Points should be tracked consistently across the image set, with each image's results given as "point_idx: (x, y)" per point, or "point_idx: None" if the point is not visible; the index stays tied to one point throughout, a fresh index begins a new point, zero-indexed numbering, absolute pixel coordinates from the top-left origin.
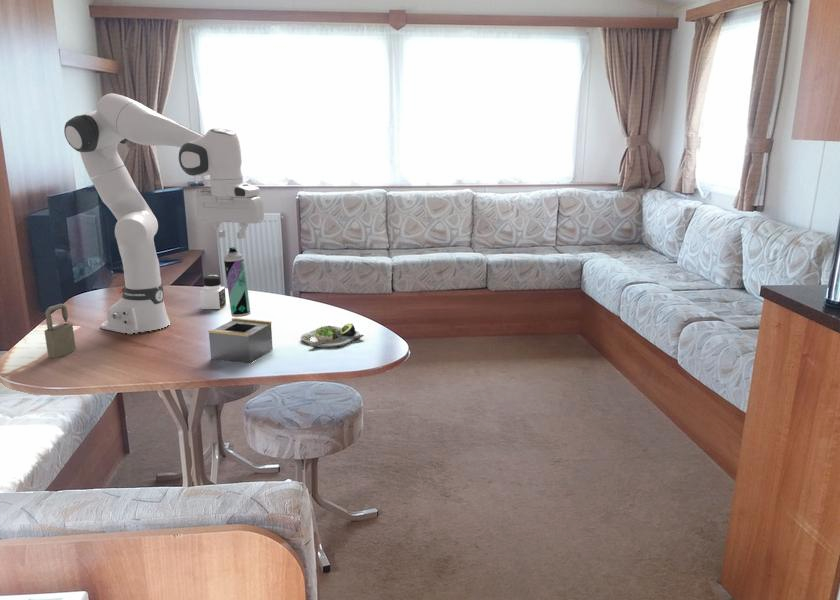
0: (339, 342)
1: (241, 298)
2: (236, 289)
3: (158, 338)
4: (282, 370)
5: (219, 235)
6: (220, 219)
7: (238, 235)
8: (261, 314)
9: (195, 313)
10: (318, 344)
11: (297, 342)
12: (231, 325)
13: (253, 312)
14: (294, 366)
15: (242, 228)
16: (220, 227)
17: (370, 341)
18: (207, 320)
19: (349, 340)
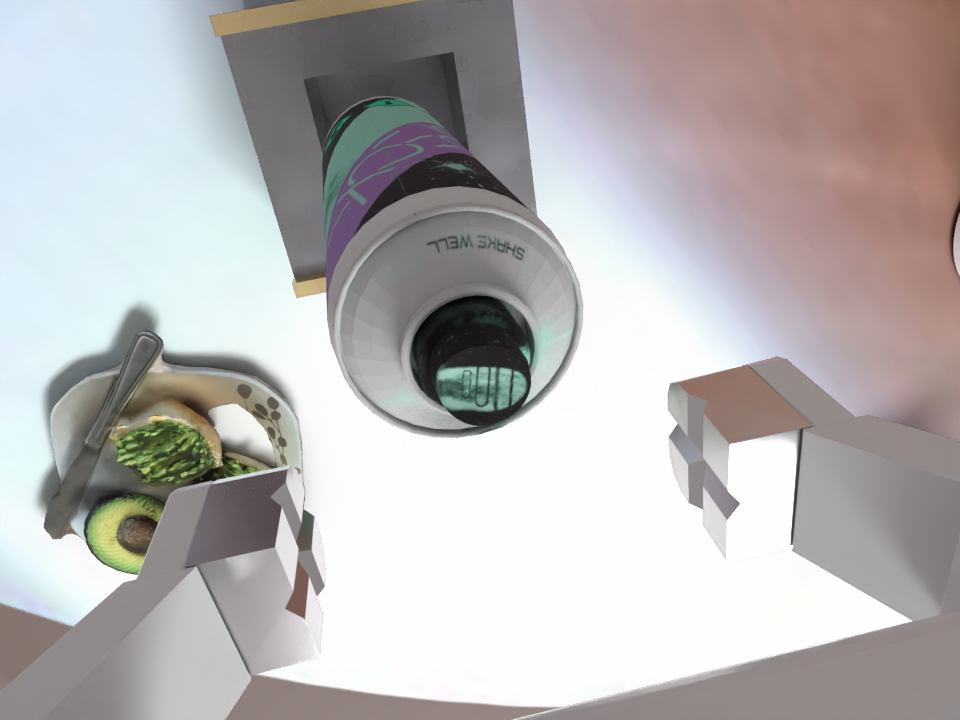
0: (76, 430)
1: (332, 153)
2: (354, 143)
3: (913, 99)
4: (14, 11)
5: (742, 378)
6: (928, 710)
7: (238, 503)
8: (662, 540)
9: (925, 428)
10: (125, 360)
11: (280, 365)
12: (475, 152)
13: (707, 541)
14: (15, 94)
15: (29, 691)
16: (876, 587)
17: (13, 519)
18: (830, 390)
19: (58, 467)
